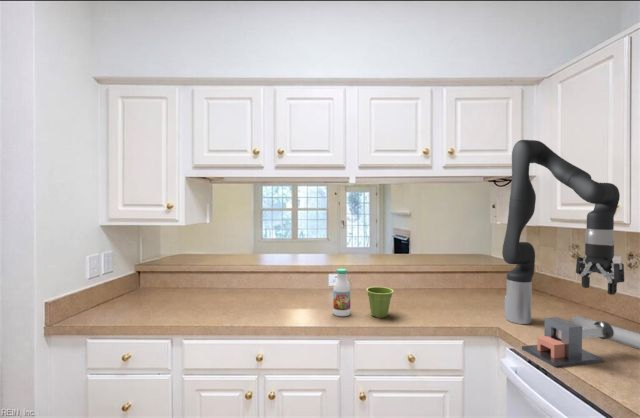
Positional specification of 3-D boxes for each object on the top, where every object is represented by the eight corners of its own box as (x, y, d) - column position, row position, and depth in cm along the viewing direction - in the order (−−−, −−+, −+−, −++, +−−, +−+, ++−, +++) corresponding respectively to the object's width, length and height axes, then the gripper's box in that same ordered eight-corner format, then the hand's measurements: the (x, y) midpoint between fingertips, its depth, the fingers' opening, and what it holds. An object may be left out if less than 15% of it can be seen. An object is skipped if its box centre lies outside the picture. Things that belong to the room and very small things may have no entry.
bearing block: (521, 349, 116) (522, 317, 116) (566, 344, 120) (566, 314, 119) (555, 367, 103) (555, 331, 103) (603, 361, 107) (604, 327, 107)
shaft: (552, 339, 114) (552, 322, 114) (596, 335, 118) (596, 319, 118) (567, 346, 109) (567, 328, 108) (613, 341, 112) (613, 324, 112)
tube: (566, 317, 138) (641, 340, 114) (575, 311, 139) (651, 333, 115) (569, 329, 138) (644, 354, 114) (578, 323, 140) (654, 347, 116)
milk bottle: (330, 312, 155) (330, 268, 154) (346, 310, 157) (346, 267, 157) (337, 317, 148) (337, 271, 147) (353, 315, 150) (353, 270, 150)
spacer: (537, 349, 113) (537, 337, 113) (547, 348, 114) (547, 336, 114) (554, 358, 107) (554, 345, 107) (564, 357, 108) (564, 343, 108)
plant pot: (374, 321, 143) (375, 294, 143) (361, 312, 154) (361, 288, 154) (398, 317, 147) (398, 291, 147) (383, 309, 158) (384, 285, 158)
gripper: (570, 240, 120) (569, 286, 120) (612, 245, 106) (611, 297, 106) (588, 239, 121) (586, 285, 122) (631, 245, 108) (630, 296, 108)
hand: (598, 290), depth 114 cm, fingers open, 8 cm apart
